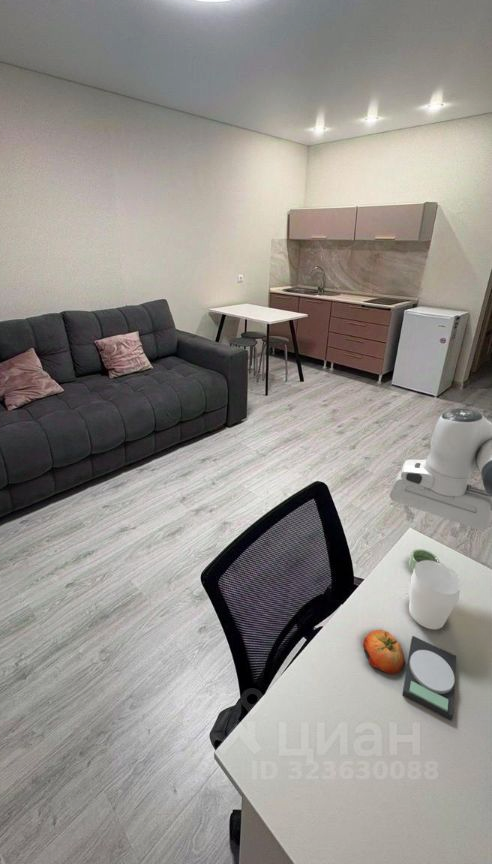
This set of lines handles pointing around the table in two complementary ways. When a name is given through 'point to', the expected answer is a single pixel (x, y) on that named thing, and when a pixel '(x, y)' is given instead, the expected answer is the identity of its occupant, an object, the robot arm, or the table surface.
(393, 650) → the tomato
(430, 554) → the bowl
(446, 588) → the cup
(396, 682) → the table surface
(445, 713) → the scale
